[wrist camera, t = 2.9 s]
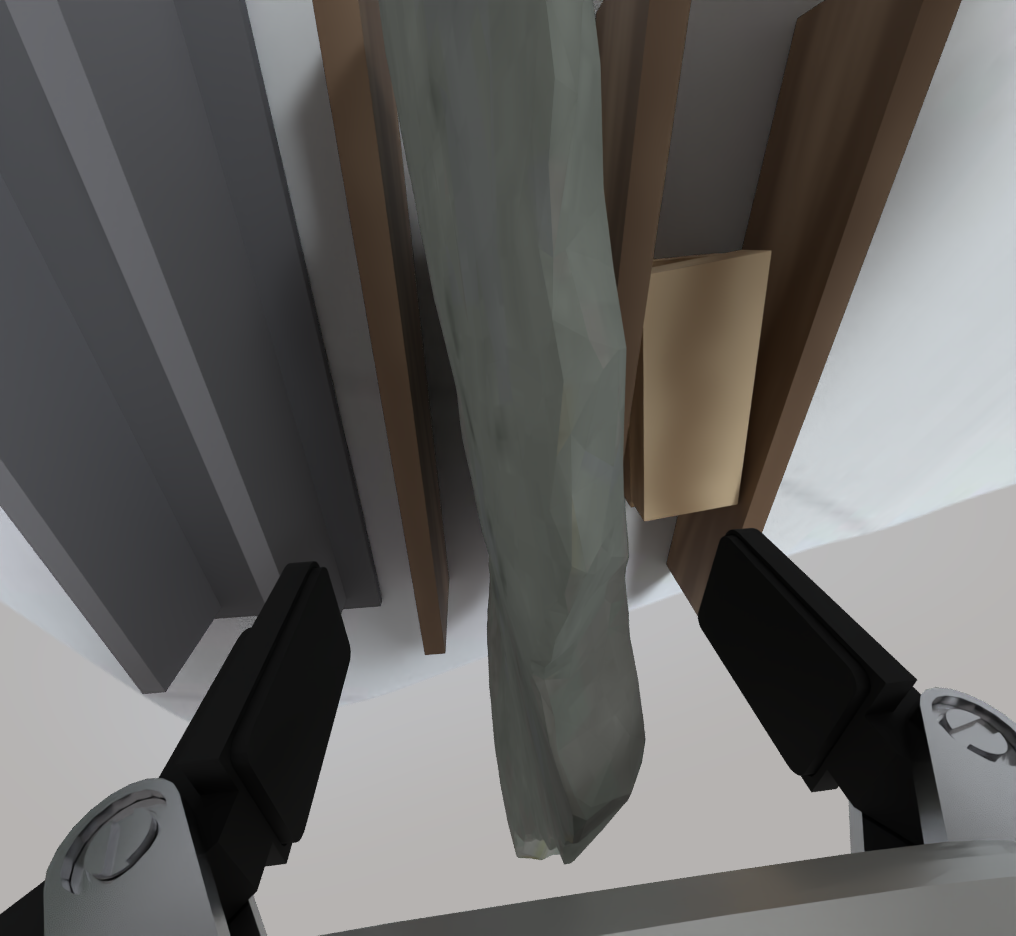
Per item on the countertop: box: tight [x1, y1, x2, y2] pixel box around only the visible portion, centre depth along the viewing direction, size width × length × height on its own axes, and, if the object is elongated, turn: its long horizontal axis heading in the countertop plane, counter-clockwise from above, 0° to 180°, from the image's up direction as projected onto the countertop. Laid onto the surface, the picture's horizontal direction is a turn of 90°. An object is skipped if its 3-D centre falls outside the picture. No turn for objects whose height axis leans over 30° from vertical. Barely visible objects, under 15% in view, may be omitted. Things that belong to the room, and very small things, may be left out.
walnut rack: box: [312, 0, 962, 655], centre depth 20 cm, size 19×29×6 cm, turn 1°
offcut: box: [630, 250, 771, 522], centre depth 19 cm, size 5×12×2 cm, turn 10°
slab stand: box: [0, 0, 382, 694], centre depth 19 cm, size 14×32×7 cm, turn 1°
